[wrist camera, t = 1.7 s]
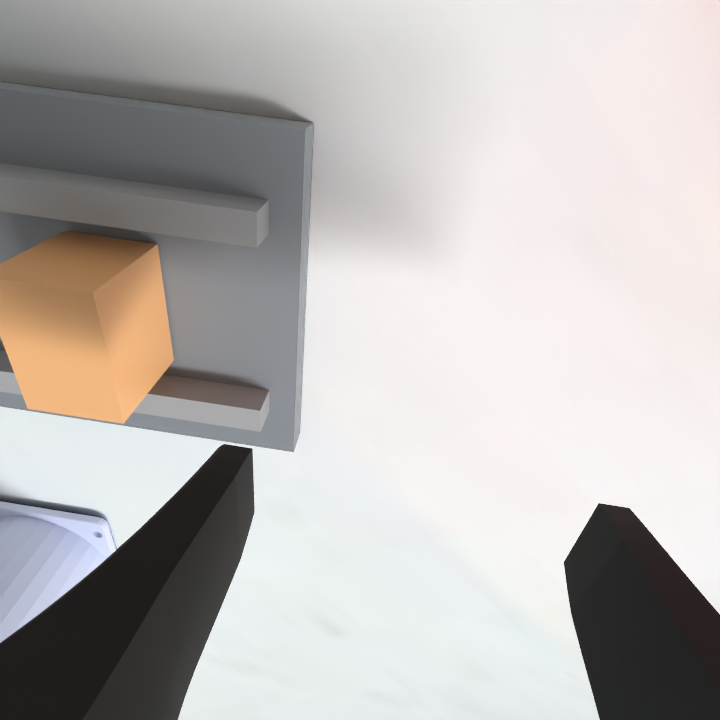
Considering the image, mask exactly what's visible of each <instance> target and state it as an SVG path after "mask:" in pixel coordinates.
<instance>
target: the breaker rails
mask: <svg viewBox="0 0 720 720" xmlns="http://www.w3.org/2000/svg"><path fill="white" fill-rule="evenodd" d="M313 131H314V123H309V122H302V121H294V120H286V119H279V118H271V117H264V116H256V115H249V114H241V113H234V112H226V111H219V110H211V109H204V108H196V107H189V106H181V105H174V104H166V103H159V102H151V101H144V100H136V99H128V98H121V97H113V96H106V95H98V94H91V93H83V92H76V91H68V90H61V89H53V88H46V87H38V86H31V85H23V84H16V83H8V82H1V81H0V264H1V263H3V262H5V261H7V260H9V259H10V258H12V257H14V256H16V255H18V254H20V253H22V252H24V251H26V250H28V249H30V248H32V247H34V246H36V245H38V244H40V243H42V242H44V241H46V240H48V239H50V238H52V237H53V236H55V235H57V234H59V233H61V232H63V231H69V232H76V233H83V234H90V235H97V236H104V237H111V238H118V239H125V240H132V241H139V242H146V243H153V244H158V250H159V257H160V264H161V272H162V279H163V286H164V293H165V300H166V307H167V314H168V321H169V329H170V336H171V343H172V350H173V357H174V361H173V362H172V363H171V365H170V366H169V367H168V368H167V370H166V371H165V372H164V373H163V375H162V376H161V377H160V379H159V380H158V381H157V382H156V384H155V385H154V386H153V387H152V389H151V390H150V391H149V392H148V394H147V395H146V396H145V397H144V399H143V400H142V401H141V402H140V404H139V405H138V406H137V408H136V409H135V410H134V411H133V413H132V414H131V415H130V416H129V418H128V419H127V420H126V421H125V423H124V424H121V423H115V422H109V421H102V420H96V419H89V418H83V417H76V416H70V415H64V414H57V413H51V412H44V411H38V410H31V409H28V408H27V406H26V403H25V400H24V398H23V395H22V393H21V390H20V387H19V385H18V382H17V379H16V377H15V374H14V371H13V369H12V366H11V363H10V361H9V358H8V355H7V353H6V350H5V347H4V345H3V342H2V339H1V337H0V406H2V407H8V408H14V409H21V410H27V411H34V412H40V413H47V414H53V415H59V416H66V417H72V418H79V419H85V420H91V421H98V422H104V423H111V424H117V425H124V426H130V427H136V428H143V429H149V430H156V431H162V432H169V433H175V434H181V435H188V436H194V437H201V438H207V439H213V440H220V441H226V442H233V443H239V444H246V445H252V446H258V447H265V448H271V449H278V450H284V451H291V452H294V449H295V446H296V443H297V440H298V436H299V433H300V419H301V396H302V374H303V352H304V330H305V308H306V286H307V264H308V242H309V219H310V197H311V175H312V153H313Z"/></svg>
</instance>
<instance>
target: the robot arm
mask: <svg viewBox="0 0 720 720" xmlns="http://www.w3.org/2000/svg"><path fill="white" fill-rule="evenodd" d="M253 515H254V485H253V455H252V449H251V448H245V447H238V446H232V445H226V444H224V445H222V446H220V447H219V448H218V449H217V450H216V451H215V452H214V453H213V455H212V456H211V457H210V458H209V459H208V460H207V461H206V462H205V463H204V464H203V466H202V467H201V468H200V469H199V470H198V471H197V472H196V473H195V474H194V475H193V476H192V477H191V478H190V479H189V480H188V482H187V483H186V484H185V485H184V486H183V487H182V488H181V489H180V490H179V491H178V492H177V493H176V494H175V495H174V496H173V497H172V498H171V499H170V500H169V501H168V502H167V503H166V504H165V505H164V506H163V507H162V508H161V509H160V510H159V511H158V512H157V513H156V514H155V515H154V516H153V517H151V518H150V519H149V520H148V521H147V522H146V523H145V524H144V525H143V526H142V527H141V528H140V529H139V530H138V531H137V532H136V533H135V534H134V535H132V536H131V537H130V538H129V539H128V540H127V541H126V542H125V543H124V544H122V545H121V546H120V547H119V548H118V549H117V550H116V548H115V545H114V542H113V539H112V535H111V532H110V529H109V526H108V523H107V522H106V521H105V520H104V519H102V518H99V517H94V516H88V515H82V514H76V513H70V512H63V511H57V510H51V509H45V508H39V507H33V506H26V505H20V504H14V503H8V502H2V501H0V720H178V717H179V713H180V710H181V707H182V704H183V701H184V698H185V695H186V692H187V689H188V687H189V684H190V681H191V679H192V676H193V673H194V671H195V668H196V666H197V663H198V661H199V658H200V656H201V654H202V651H203V649H204V646H205V644H206V642H207V639H208V637H209V634H210V632H211V630H212V627H213V625H214V622H215V620H216V618H217V615H218V613H219V610H220V608H221V605H222V603H223V601H224V598H225V596H226V593H227V591H228V589H229V586H230V584H231V581H232V579H233V576H234V574H235V571H236V569H237V567H238V564H239V562H240V559H241V556H242V553H243V549H244V546H245V543H246V539H247V536H248V532H249V529H250V525H251V522H252V518H253ZM564 566H565V574H566V582H567V589H568V596H569V602H570V608H571V614H572V618H573V622H574V626H575V630H576V633H577V637H578V641H579V645H580V648H581V652H582V656H583V660H584V663H585V667H586V670H587V674H588V678H589V681H590V685H591V689H592V692H593V696H594V700H595V703H596V707H597V710H598V714H599V718H600V720H720V614H719V613H718V612H717V611H716V610H715V609H714V608H713V606H712V605H711V604H710V603H709V602H708V601H707V599H706V598H705V597H704V596H703V595H702V594H701V592H700V591H699V590H698V589H697V588H696V587H695V585H694V584H693V583H692V582H691V581H690V580H689V578H688V577H687V576H686V575H685V574H684V572H683V571H682V570H681V569H680V568H679V566H678V565H677V564H676V563H675V562H674V560H673V559H672V558H671V557H670V556H669V554H668V553H667V552H666V551H665V550H664V548H663V547H662V546H661V545H660V544H659V542H658V541H657V540H656V539H655V538H654V536H653V535H652V534H651V533H650V532H649V531H648V529H647V528H646V527H645V526H644V525H643V523H642V522H641V521H640V520H639V519H638V518H637V516H636V515H635V514H634V513H633V512H632V511H631V510H630V509H629V508H625V507H619V506H612V505H606V504H600V503H599V504H598V506H597V508H596V509H595V511H594V513H593V514H592V516H591V518H590V519H589V521H588V523H587V524H586V526H585V528H584V529H583V531H582V533H581V534H580V536H579V538H578V539H577V541H576V543H575V545H574V546H573V548H572V550H571V551H570V553H569V555H568V556H567V558H566V560H565V561H564Z"/></svg>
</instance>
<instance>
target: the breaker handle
mask: <svg viewBox="0 0 720 720" xmlns="http://www.w3.org/2000/svg"><path fill="white" fill-rule="evenodd" d="M0 337H1V339H2V342H3V345H4V347H5V350H6V353H7V355H8V358H9V361H10V363H11V366H12V369H13V371H14V374H15V377H16V379H17V382H18V385H19V387H20V390H21V393H22V395H23V398H24V400H25V403H26V406H27V408H28V409H31V410H38V411H44V412H51V413H57V414H64V415H70V416H76V417H83V418H89V419H96V420H102V421H109V422H115V423H121V424H124V423H125V421H126V420H127V419H128V418H129V416H130V415H131V414H132V413H133V411H134V410H135V409H136V408H137V406H138V405H139V404H140V402H141V401H142V400H143V399H144V397H145V396H146V395H147V394H148V392H149V391H150V390H151V389H152V387H153V386H154V385H155V384H156V382H157V381H158V380H159V379H160V377H161V376H162V375H163V373H164V372H165V371H166V370H167V368H168V367H169V366H170V365H171V363H172V362H173V361H174V357H173V350H172V343H171V336H170V329H169V321H168V314H167V307H166V300H165V293H164V286H163V279H162V272H161V264H160V257H159V250H158V244H153V243H146V242H139V241H132V240H125V239H118V238H111V237H104V236H97V235H90V234H83V233H76V232H69V231H63V232H61V233H59V234H57V235H55V236H53V237H52V238H50V239H48V240H46V241H44V242H42V243H40V244H38V245H36V246H34V247H32V248H30V249H28V250H26V251H24V252H22V253H20V254H18V255H16V256H14V257H12V258H10V259H9V260H7V261H5V262H3V263H1V264H0Z"/></svg>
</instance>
